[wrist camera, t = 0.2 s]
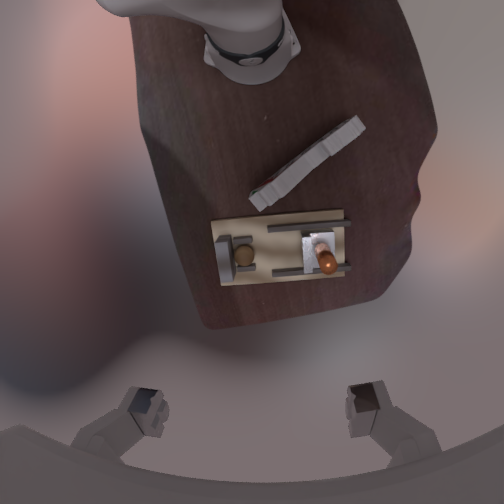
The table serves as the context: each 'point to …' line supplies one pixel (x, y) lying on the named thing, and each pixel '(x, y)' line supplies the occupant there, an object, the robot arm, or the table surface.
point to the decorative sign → (305, 163)
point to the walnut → (244, 255)
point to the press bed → (274, 245)
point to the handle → (318, 251)
